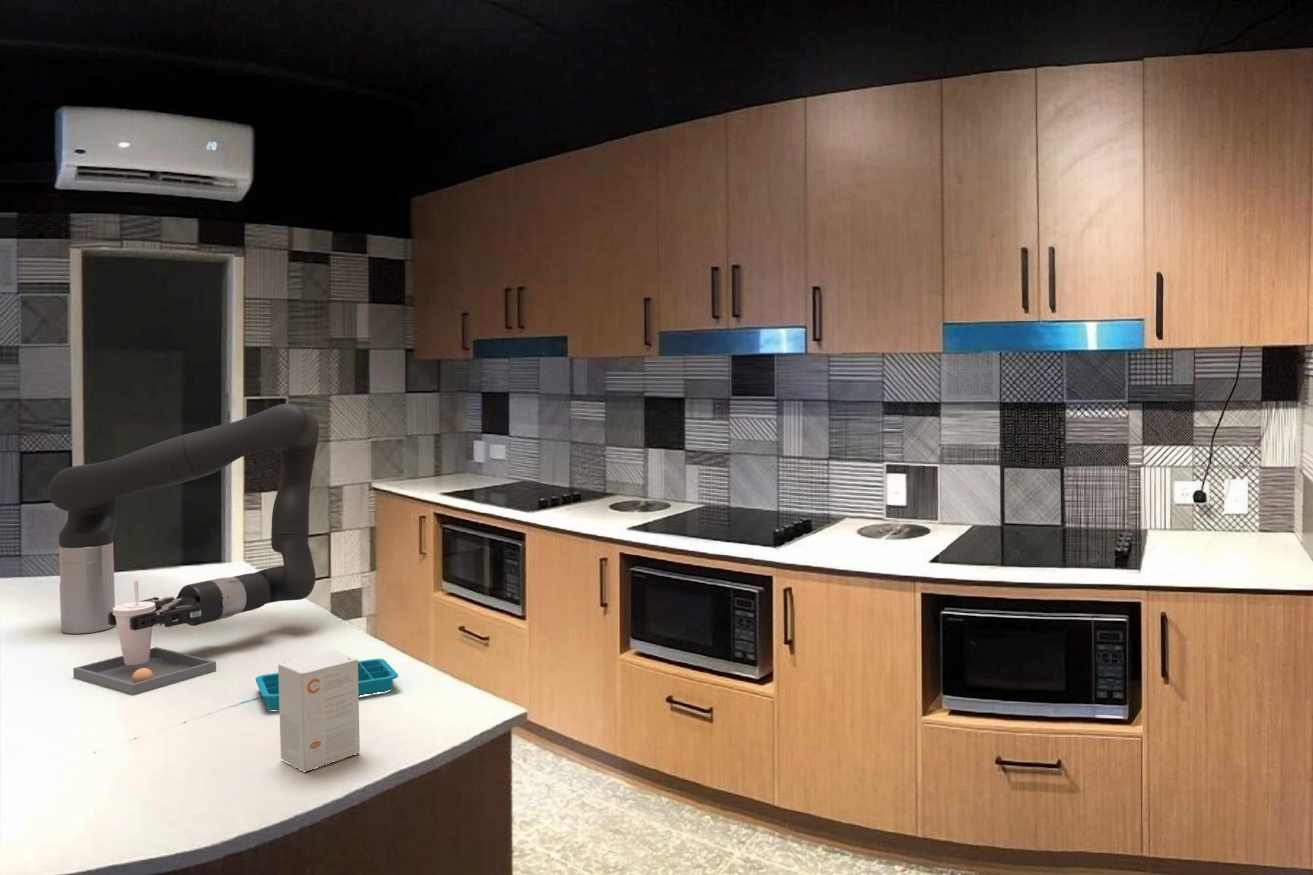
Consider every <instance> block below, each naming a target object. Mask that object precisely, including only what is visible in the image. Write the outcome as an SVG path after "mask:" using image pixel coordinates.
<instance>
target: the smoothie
mask: <svg viewBox="0 0 1313 875" xmlns="http://www.w3.org/2000/svg"><path fill="white" fill-rule="evenodd" d="M133 586H134V601H133V602H127V603H122V604H118V605H115V607H114V608H113V615H115V617H116V623H117V625H116V627H117V632H118V637H119V643H120V649H121V652H122V656H123V659H124V664H126V665H137V664H142V663H146V662H148V661H149V658H150V649H151V648H152V647H151V645H152V637H153V636H152V634H153V626H152V627H147V628H143V629H139V630H131V629H130V618H131V617H134V616H139V615H143V614H147V613H154V610H156V608H155V603H153V602H139V601H140V598H139V580H134V581H133Z"/></svg>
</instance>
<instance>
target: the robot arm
mask: <svg viewBox="0 0 1313 875" xmlns="http://www.w3.org/2000/svg"><path fill="white" fill-rule="evenodd" d="M319 436H320V424H319V422H318V419H317V418H316V417H315V416H314V415H313V414H312V413H311V412H310V411H308V410H306V408H303V407H302V406H300V405H297V404H294V403H282V404H281V403H280V404H278V405H274V406H271V407H269V408H267V409H265V410H262V411H259V412H257V413H254V414H252V415H249V416H247V417H243V418H242V419H238V420H236V421H233V422H229V423H224V424H221V425H220V424H219V425H217V426H211V427H209V428H204V429H202V430H197V431H193V432H190V433H185V434H182V435H179V436H175V437H171V438H169V439H166V440H163V441H160V442H155V443H154V444H151V445H149V446H146V447H143V448H140V449H138V450H135V451H132V452H131V453H128V454H126V455H123V456H120V457H117V458H113V459H109V460H105V461H100V462H95V463H86V464H82V465H81V464H79V465H75V466H74V465H73V466H69V467H67V468H64V469H62V470H61V471H59V472H58V473H57V474H55V476H54V477H53V478H52V479H51V481H50V482H49V485H48V489H47V495H48V499H49V501H50V502H51V503H52V504H53V505H54V506H55V507H56V508H58V509H60V510H63V511H65V512H67V519H66V522H65V524H64V526H63V528H62V529H61V531H60V532H59V533H58V550H59V551H58V552H59V578H60V579H59V580H60V582H59V602H60V606H59V607H60V628H61V632H62V633H65V634H74V635H75V634H88V633H89V634H90V633H95V632H96V633H97V632H101V631H106V630H108V629H109V630H110V629H111V628H114V627H115V626H117V623H116V617H115V615H113V608H114V607H116V596H115V592H116V590H115V589H116V588H115V564H114V563H115V562H114V561H115V560H114V559H115V558H114V533H115V530H116V527H117V521H118V518H117V517H118V498H119V497H122V496H124V495H128V494H132V493H135V492H141V491H142V492H143V491H147V490H153V489H160V488H164V487H169V486H174V485H178V484H183V483H187V482H190V481H193V480H198V479H200V478H204V477H207V476H209V475H212V474H214V473H217V472H218V471H220V470H222V469H224V468H225V467H227V466H229V465H230V464H232V463H233V462H235V461H236V460H239V459H241V458H243V457H246V456H248V455H251V454H255V453H258V452H263V451H267V450H272V449H279V453H280V460H281V469H280V470H281V473H280V479H279V485H278V487H277V488H278V489H277V492H276V494H275V499H274V503H273V506H272V513H271V527H270V528H271V531H270V534H271V536H270V543H271V544H270V546H271V548H272V550H273V551H274V552H276V553H277V554H278V553H279V554H281V557H282V561H283V565H276V566H273V567H269V568H265V569H261V570H259V571H255V572H252V573H251V572H250V573H243V574H239V575H234V576H230V577H220V578H219V577H218V578H215V579H214V578H213V579H208V580H205V581H204V580H203V581H199V582H194V583H190V584H186V585H184V586H183V587H181V589H180V590H179V592H178V594H177V596H176V598H175V597H174V596H165V597H163V598H162V599H159V597H156V596H154V597H151V598H148V599H144V600H143V599H142V600H139V602H153V603H155V608H156V610H154V613H147V614H143V615H139V616H134V617H131V618H130V629H131V630H139V629H143V628H147V627H152V628H153V627H154V626H155V627H158V628H159V627H160V628H161V627H162V626H164V627H166V628H171V627H174V626H175V627H176V626H180V625H185V624H186V625H188V626H191V627H196V626H201V625H203V624H208V623H212V622H215V621H219V620H224V619H227V618H231V617H233V616H235V615H238V614H242V613H244V612H245V613H246V612H250V611H254V610H257V609H259V608H261V607H265V605H266V604H271V603H276V602H285V601H286V602H287V601H301V600H304V599H306V598H307V597H309V595H311V593H312V592H313V590H314V588H315V584H316V569H315V568H316V567H315V564H314V560H313V559H314V558H313V554H312V552H311V547H310V545H309V535H310V534H309V533H310V532H309V531H310V496H311V485H312V475H313V468H314V463H315V457H316V452H317V447H318V441H319V438H320V437H319Z"/></svg>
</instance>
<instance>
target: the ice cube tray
mask: <svg viewBox="0 0 1313 875" xmlns="http://www.w3.org/2000/svg"><path fill="white" fill-rule="evenodd" d="M398 677H399V674H398V672H396V670H394V669H393V667H392V666H391V665H390V664H389V663H388V662H387V661H386V660H385V658H370V659H365V660H364V659H363V660H358V695H359V696H360V695H364V694H373V693H377V692H385V691H388V690H391V689H392V690H393V684H394V682H393V681H394V680H396V679H397V678H398ZM255 682H256V684H257V687H258V689H259V692H260V695H261V697H262V698H263V699H265V700H264V702H265V705H266V706H268V707H267V709H268V708H269V709H268V711H269V710H280V709H279V675H278V672H275V673H268V674H262V675H258V676H256V677H255Z"/></svg>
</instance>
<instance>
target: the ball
mask: <svg viewBox="0 0 1313 875" xmlns="http://www.w3.org/2000/svg"><path fill="white" fill-rule="evenodd" d="M152 678H153V673H152V671H151V670H149V669H147V668H141V669H138V670H137V671H135V673H134V674H133V676H132V682H133V683H138V682H141V681H145V680H148V679H152Z"/></svg>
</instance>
